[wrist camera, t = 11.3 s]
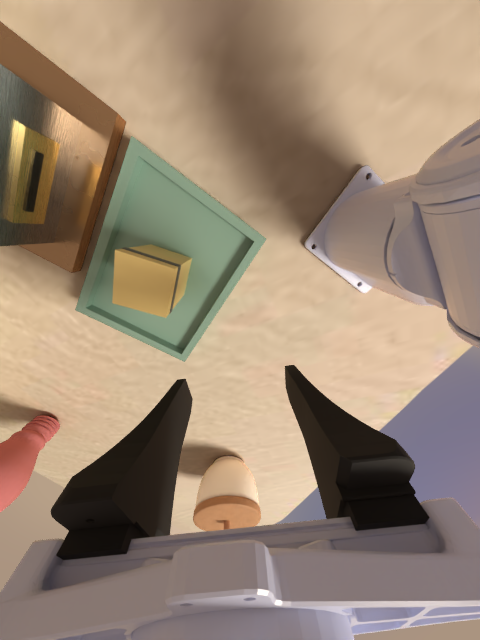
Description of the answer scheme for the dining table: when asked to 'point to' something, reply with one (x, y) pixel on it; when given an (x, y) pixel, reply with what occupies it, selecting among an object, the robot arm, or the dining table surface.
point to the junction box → (50, 155)
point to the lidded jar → (227, 497)
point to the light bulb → (22, 456)
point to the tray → (174, 235)
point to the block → (149, 278)
